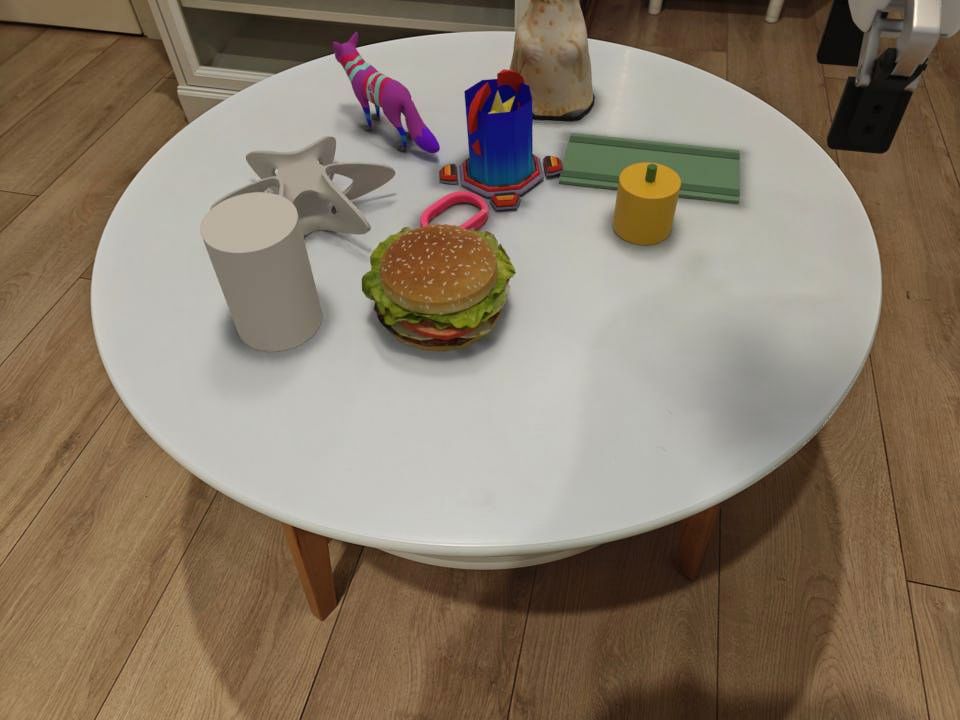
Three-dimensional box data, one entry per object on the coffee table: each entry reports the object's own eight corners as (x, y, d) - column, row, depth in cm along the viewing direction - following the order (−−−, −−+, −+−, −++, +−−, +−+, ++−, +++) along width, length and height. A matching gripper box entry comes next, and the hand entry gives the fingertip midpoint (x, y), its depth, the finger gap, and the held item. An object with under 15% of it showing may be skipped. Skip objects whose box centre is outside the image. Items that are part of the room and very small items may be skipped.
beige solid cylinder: (290, 279, 78) (262, 180, 68) (339, 319, 74) (316, 220, 65) (221, 320, 74) (182, 222, 65) (268, 365, 70) (234, 266, 61)
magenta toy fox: (355, 102, 100) (343, 24, 92) (451, 156, 91) (446, 75, 84) (333, 114, 98) (318, 35, 90) (428, 170, 90) (421, 88, 82)
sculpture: (309, 297, 76) (296, 248, 71) (190, 217, 85) (172, 168, 80) (430, 212, 84) (426, 163, 80) (311, 147, 93) (301, 100, 88)
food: (533, 276, 77) (535, 212, 71) (483, 376, 69) (482, 313, 63) (409, 246, 81) (401, 183, 75) (347, 338, 72) (333, 275, 66)
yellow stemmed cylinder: (672, 212, 83) (685, 152, 78) (669, 248, 79) (682, 188, 74) (615, 205, 84) (624, 145, 79) (609, 241, 80) (618, 181, 75)
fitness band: (448, 251, 80) (447, 240, 79) (409, 228, 83) (408, 217, 81) (499, 214, 84) (499, 203, 83) (460, 193, 86) (460, 182, 85)
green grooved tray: (738, 153, 91) (739, 149, 90) (738, 203, 84) (739, 200, 84) (571, 135, 94) (571, 131, 93) (558, 183, 87) (559, 179, 87)
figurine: (501, 118, 97) (501, -50, 82) (507, 76, 103) (508, -86, 88) (594, 122, 96) (612, -47, 81) (594, 79, 102) (610, -84, 87)
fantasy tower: (507, 215, 83) (503, 115, 74) (429, 177, 89) (417, 80, 80) (572, 165, 89) (576, 67, 80) (495, 132, 94) (491, 37, 85)
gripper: (1147, -210, 26) (939, 197, 39) (1028, -299, 38) (896, 41, 50) (915, -215, 28) (787, 181, 41) (866, -299, 39) (778, 32, 52)
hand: (847, 103), depth 45 cm, fingers open, 9 cm apart
